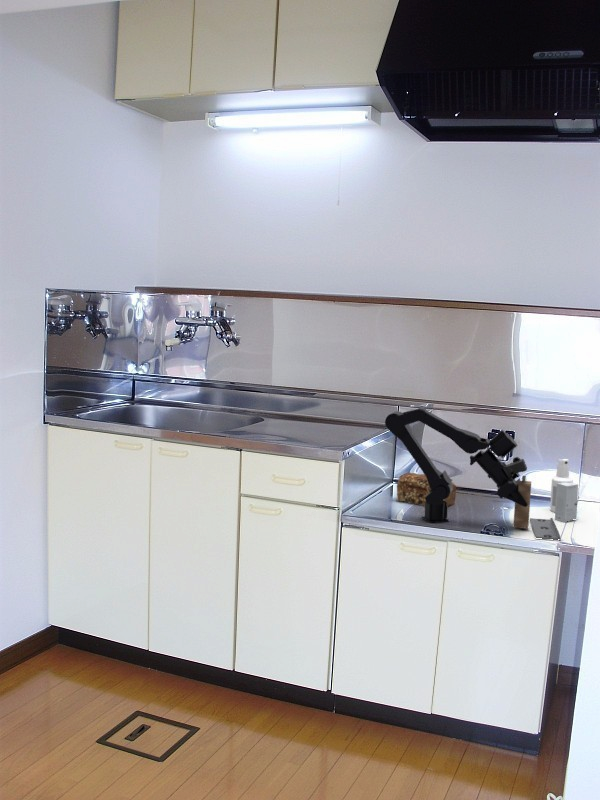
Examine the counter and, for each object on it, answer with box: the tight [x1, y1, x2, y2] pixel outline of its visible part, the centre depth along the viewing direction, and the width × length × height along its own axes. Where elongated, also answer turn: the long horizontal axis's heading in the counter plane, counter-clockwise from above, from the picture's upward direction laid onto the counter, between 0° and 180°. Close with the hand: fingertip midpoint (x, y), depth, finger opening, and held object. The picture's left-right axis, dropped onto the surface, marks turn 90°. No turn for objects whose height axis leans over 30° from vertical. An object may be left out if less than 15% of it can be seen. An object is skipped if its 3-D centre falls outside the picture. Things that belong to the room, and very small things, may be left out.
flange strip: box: [529, 517, 561, 541], centre depth 259 cm, size 22×7×1 cm, turn 169°
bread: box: [396, 472, 457, 507], centre depth 292 cm, size 19×11×10 cm, turn 57°
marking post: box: [513, 475, 532, 529], centre depth 259 cm, size 4×4×16 cm
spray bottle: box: [549, 458, 574, 513], centre depth 283 cm, size 7×7×18 cm
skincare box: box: [554, 482, 579, 523], centre depth 272 cm, size 6×4×12 cm
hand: (526, 504), depth 259 cm, fingers closed on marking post, 4 cm apart
